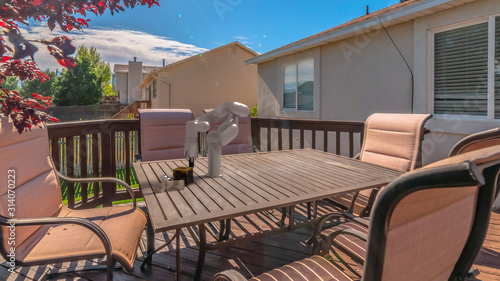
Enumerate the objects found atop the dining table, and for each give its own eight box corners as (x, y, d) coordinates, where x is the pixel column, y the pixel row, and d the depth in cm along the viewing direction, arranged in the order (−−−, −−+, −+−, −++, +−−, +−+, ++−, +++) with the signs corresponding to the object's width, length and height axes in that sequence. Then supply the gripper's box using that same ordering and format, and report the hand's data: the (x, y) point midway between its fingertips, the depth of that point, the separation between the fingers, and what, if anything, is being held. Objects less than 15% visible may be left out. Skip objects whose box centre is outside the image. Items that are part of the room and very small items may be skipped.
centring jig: (163, 185, 177) (163, 177, 177) (185, 188, 171) (185, 180, 170) (148, 190, 165) (147, 182, 165) (170, 194, 159) (170, 185, 158)
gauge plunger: (170, 178, 174) (170, 172, 174) (176, 179, 172) (176, 172, 172) (157, 182, 164) (157, 176, 163) (163, 183, 162) (163, 176, 161)
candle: (187, 186, 176) (187, 170, 175) (172, 185, 178) (172, 169, 177) (194, 182, 186) (193, 167, 185) (179, 181, 188) (179, 166, 187)
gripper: (193, 138, 196) (193, 165, 198) (179, 140, 183) (179, 168, 184) (203, 139, 193) (202, 166, 195) (189, 141, 180) (189, 170, 181)
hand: (191, 167), depth 190 cm, fingers closed
